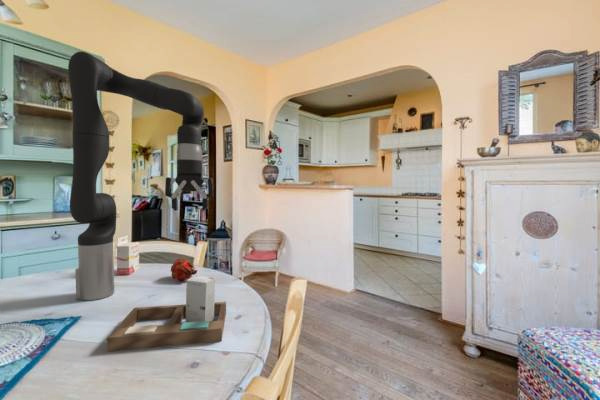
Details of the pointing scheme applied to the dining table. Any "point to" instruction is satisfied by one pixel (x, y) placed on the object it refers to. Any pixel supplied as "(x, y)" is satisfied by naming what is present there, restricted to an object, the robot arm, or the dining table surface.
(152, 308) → the socket block
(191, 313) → the skincare box
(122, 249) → the ink cartridge box
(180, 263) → the dragon fruit
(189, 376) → the dining table surface
